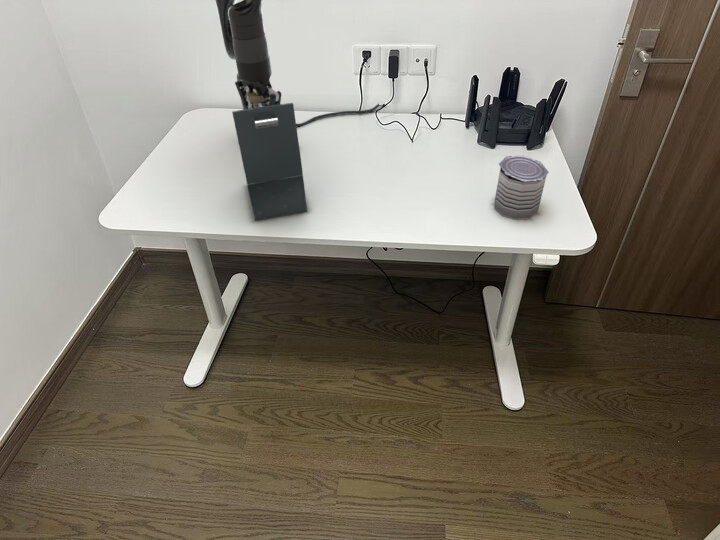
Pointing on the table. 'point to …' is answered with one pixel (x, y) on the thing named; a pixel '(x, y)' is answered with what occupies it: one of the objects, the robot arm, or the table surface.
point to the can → (519, 187)
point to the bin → (277, 197)
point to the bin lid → (268, 142)
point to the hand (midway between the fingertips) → (264, 126)
